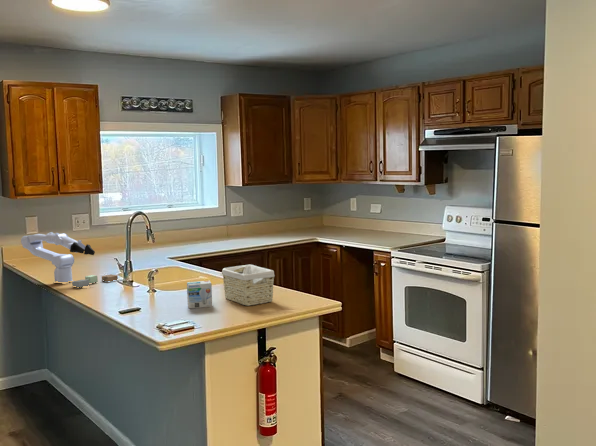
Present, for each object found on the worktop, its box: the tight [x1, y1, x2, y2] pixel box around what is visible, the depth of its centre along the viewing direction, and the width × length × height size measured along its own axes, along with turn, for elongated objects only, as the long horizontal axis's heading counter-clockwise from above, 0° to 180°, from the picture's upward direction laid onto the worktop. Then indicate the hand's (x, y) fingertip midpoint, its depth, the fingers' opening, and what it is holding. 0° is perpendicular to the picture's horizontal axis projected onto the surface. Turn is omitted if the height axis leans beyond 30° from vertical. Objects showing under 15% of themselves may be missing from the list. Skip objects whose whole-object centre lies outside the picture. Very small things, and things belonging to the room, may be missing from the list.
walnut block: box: [101, 274, 119, 281], centre depth 325 cm, size 6×6×4 cm
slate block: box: [71, 279, 90, 287], centre depth 311 cm, size 6×6×4 cm
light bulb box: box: [186, 280, 213, 309], centre depth 262 cm, size 11×7×11 cm, turn 106°
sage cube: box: [84, 274, 99, 283], centre depth 320 cm, size 4×4×4 cm
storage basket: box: [221, 263, 276, 307], centre depth 271 cm, size 24×16×15 cm
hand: (88, 252), depth 313 cm, fingers open, 7 cm apart
